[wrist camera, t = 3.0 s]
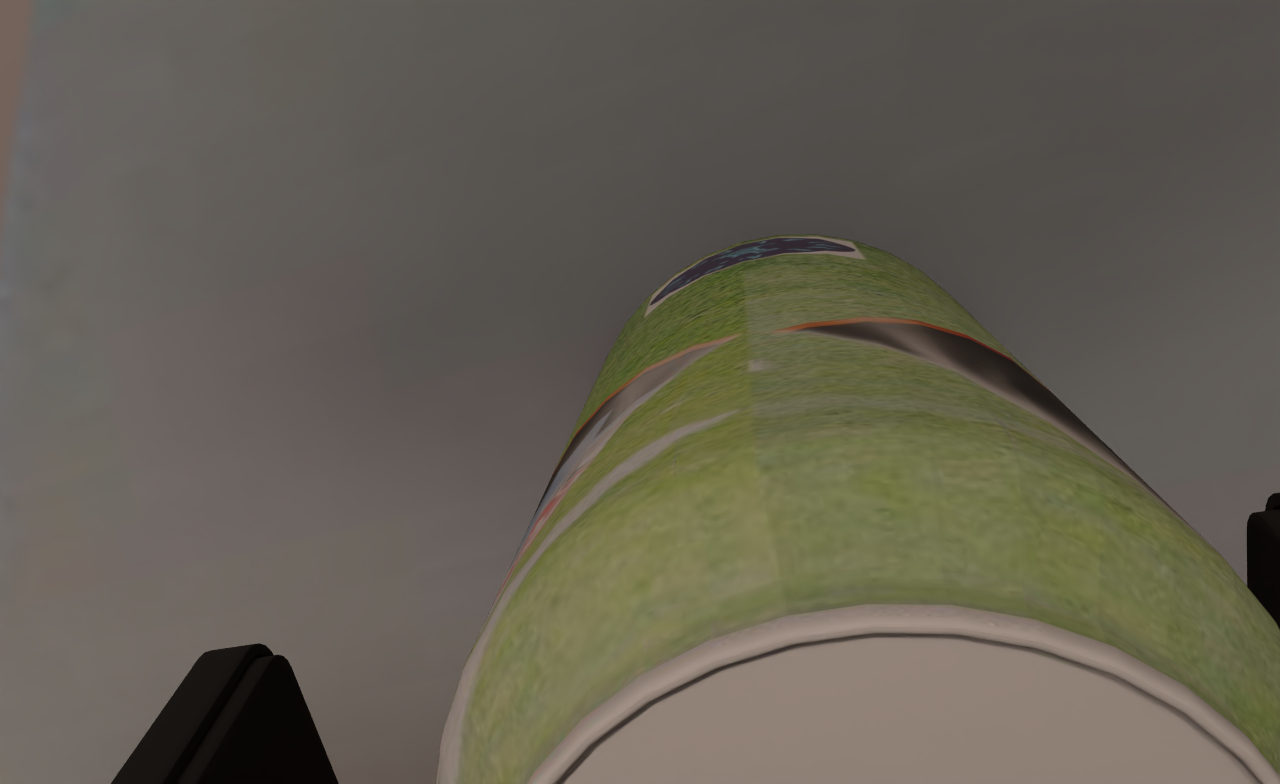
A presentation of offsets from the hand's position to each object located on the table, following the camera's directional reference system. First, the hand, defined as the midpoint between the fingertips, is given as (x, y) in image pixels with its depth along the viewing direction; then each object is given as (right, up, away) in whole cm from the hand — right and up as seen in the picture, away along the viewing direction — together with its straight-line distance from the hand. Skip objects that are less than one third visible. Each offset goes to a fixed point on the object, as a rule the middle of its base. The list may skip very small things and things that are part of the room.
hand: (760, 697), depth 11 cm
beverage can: (+1, +3, +7) cm, 7 cm away
